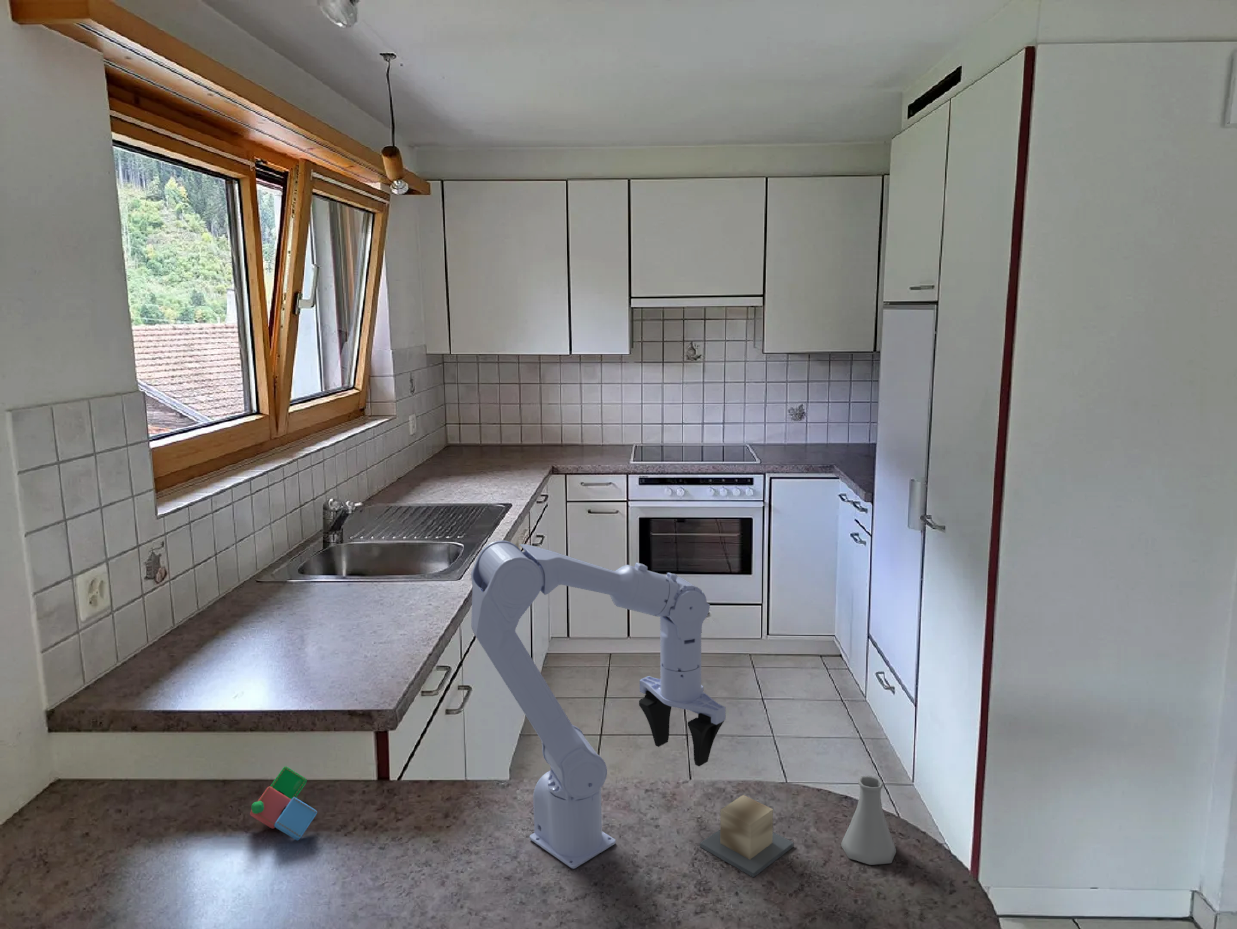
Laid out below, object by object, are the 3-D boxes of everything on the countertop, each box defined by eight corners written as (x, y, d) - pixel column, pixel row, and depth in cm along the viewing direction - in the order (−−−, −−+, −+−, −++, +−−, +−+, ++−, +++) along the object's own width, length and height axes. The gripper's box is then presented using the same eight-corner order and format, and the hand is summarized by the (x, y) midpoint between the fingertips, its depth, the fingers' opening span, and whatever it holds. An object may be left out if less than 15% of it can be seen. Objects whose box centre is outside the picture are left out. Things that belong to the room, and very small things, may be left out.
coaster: (700, 847, 114) (700, 843, 114) (740, 819, 120) (740, 815, 120) (753, 877, 108) (753, 873, 107) (793, 846, 114) (793, 842, 114)
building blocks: (294, 846, 123) (300, 839, 114) (246, 817, 123) (248, 807, 113) (327, 796, 128) (335, 785, 118) (282, 768, 127) (286, 755, 118)
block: (720, 843, 114) (720, 809, 113) (742, 827, 117) (743, 794, 116) (750, 859, 110) (750, 825, 109) (772, 843, 114) (772, 809, 113)
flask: (899, 870, 109) (902, 799, 107) (841, 863, 110) (843, 793, 108) (893, 836, 116) (896, 770, 114) (839, 831, 117) (841, 765, 115)
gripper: (739, 669, 114) (739, 761, 117) (662, 641, 125) (663, 726, 127) (706, 685, 110) (706, 781, 112) (628, 655, 120) (630, 743, 122)
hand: (681, 753), depth 119 cm, fingers open, 7 cm apart
